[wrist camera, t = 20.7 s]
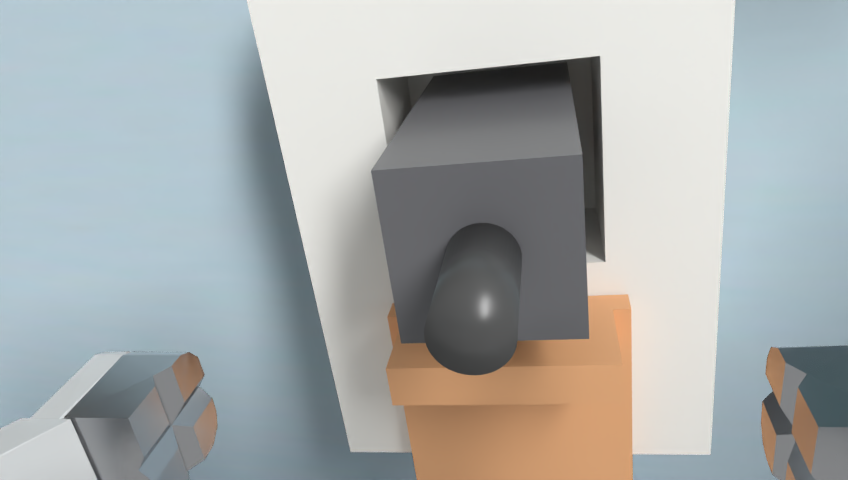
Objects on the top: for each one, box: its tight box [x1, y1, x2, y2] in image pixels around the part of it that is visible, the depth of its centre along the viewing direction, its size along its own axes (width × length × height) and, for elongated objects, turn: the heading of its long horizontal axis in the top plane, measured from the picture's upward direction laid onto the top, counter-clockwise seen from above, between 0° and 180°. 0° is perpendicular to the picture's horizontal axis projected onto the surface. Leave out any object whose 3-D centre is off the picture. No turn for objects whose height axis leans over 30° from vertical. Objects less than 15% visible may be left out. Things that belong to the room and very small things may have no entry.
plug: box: [371, 62, 589, 375], centre depth 17 cm, size 4×4×12 cm
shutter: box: [386, 294, 633, 480], centre depth 20 cm, size 7×7×3 cm
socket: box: [247, 0, 735, 455], centre depth 22 cm, size 16×12×6 cm
